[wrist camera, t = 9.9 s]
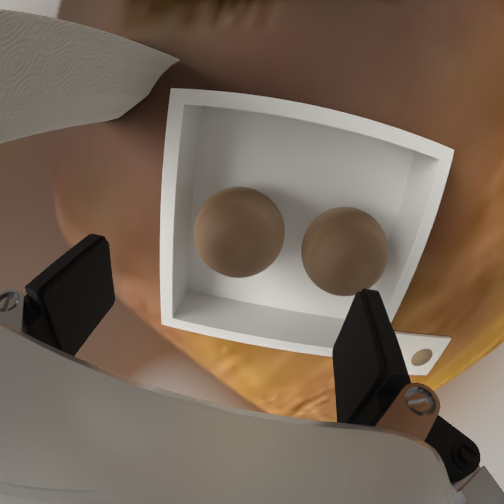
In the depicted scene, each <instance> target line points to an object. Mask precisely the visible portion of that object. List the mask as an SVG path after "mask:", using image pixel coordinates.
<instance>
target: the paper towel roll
mask: <svg viewBox="0 0 504 504" xmlns="http://www.w3.org/2000/svg"><path fill="white" fill-rule="evenodd" d="M178 61H180V59H177V58H175V57H173V56H170V55H168V54H165V53H163V52H160V51H158V50H156V49H153V48H150V47H148V46H145V45H143V44H140V43H137V42H134V41H132V40H129V39H126V38H123V37H120V36H117V35H114V34H111V33H108V32H105V31H101V30H98V29H95V28H91V27H88V26H84V25H80V24H77V23H73V22H69V21H64V20H60V19H56V18H51V17H46V16H41V15H35V14H30V13H24V12H16V11H9V10H1V9H0V143H3V142H7V141H11V140H14V139H18V138H22V137H26V136H30V135H34V134H38V133H42V132H47V131H52V130H57V129H62V128H67V127H73V126H78V125H84V124H90V123H97V122H104V121H109V120H113V119H117V118H120V117H121V116H122V115H123V114H125V113H126V112H127V111H129V110H130V109H131V108H133V107H134V106H135V105H136V104H138V103H139V102H140V101H141V100H143V99H144V98H145V97H147V96H148V94H149V93H150V91H151V90H152V88H153V86H154V85H155V83H156V82H157V80H158V79H159V77H160V76H161V75H162V74H163V73H164V72H165V71H166V70H167V69H168V68H169V67H170V66H171V65H173V64H175V63H176V62H178Z"/></svg>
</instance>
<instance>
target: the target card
mask: <svg viewBox="0 0 504 504" xmlns="http://www.w3.org/2000/svg"><path fill="white" fill-rule="evenodd" d="M394 332H395V334H396V337H397V340H398V343H399V346H400V349H401V352H402V355H403V358H404V361H405V365H406V368H407V371H408V374H409V375H427V374H428V373H429V372H430V370H431V369H432V367H433V366H434V364H435V363H436V362H437V360H438V359H439V357H440V356H441V354H442V353H443V351H444V350H445V348H446V347H447V345H448V344H449V342H450V340H451V337H448V336H436V335H426V334H416V333H407V332H398V331H394Z"/></svg>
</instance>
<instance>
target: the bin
mask: <svg viewBox="0 0 504 504" xmlns="http://www.w3.org/2000/svg"><path fill="white" fill-rule="evenodd" d="M453 154H454V150H453V149H451V148H449V147H446V146H444V145H441V144H439V143H436V142H434V141H431V140H429V139H426V138H423V137H421V136H418V135H415V134H413V133H410V132H407V131H404V130H401V129H398V128H395V127H392V126H389V125H386V124H383V123H379V122H376V121H373V120H369V119H366V118H362V117H359V116H355V115H351V114H348V113H344V112H340V111H336V110H332V109H327V108H323V107H318V106H314V105H309V104H304V103H299V102H294V101H288V100H283V99H277V98H271V97H264V96H257V95H250V94H242V93H233V92H223V91H212V90H198V89H179V88H171V91H170V99H169V107H168V116H167V125H166V135H165V147H164V159H163V173H162V191H161V216H160V296H161V321H162V325H166V326H170V327H174V328H178V329H182V330H186V331H190V332H195V333H199V334H204V335H208V336H213V337H217V338H222V339H227V340H232V341H237V342H242V343H247V344H252V345H258V346H263V347H269V348H275V349H281V350H287V351H294V352H300V353H307V354H315V355H322V356H330V357H333V356H332V351H333V346H334V344H335V341H336V339H337V337H338V335H339V332H340V330H341V328H342V326H343V323H344V321H345V319H346V316H347V314H348V311H349V309H350V307H351V304H352V302H353V299H354V297H355V295H353V296H337V295H333V294H330V293H327V292H325V291H324V290H322V289H320V288H319V287H318V286H316V285H315V284H314V283H313V282H312V280H311V279H310V278H309V276H308V275H307V273H306V271H305V269H304V266H303V262H302V257H301V246H302V240H303V237H304V234H305V232H306V230H307V228H308V227H309V225H310V224H311V223H312V222H313V220H314V219H315V218H317V217H318V216H319V215H321V214H322V213H324V212H326V211H327V210H330V209H333V208H337V207H352V208H357V209H360V210H362V211H364V212H366V213H368V214H369V215H371V216H372V217H373V218H374V219H375V220H376V221H377V222H378V223H379V224H380V226H381V227H382V229H383V231H384V233H385V235H386V239H387V243H388V261H387V265H386V268H385V270H384V272H383V274H382V276H381V277H380V279H379V280H378V281H377V282H376V283H375V284H374V285H373V286H372V287H371V288H369V289H371V290H376V291H379V293H380V295H381V298H382V301H383V303H384V306H385V309H386V311H387V314H388V317H389V320H390V323H391V322H392V320H393V318H394V316H395V314H396V312H397V310H398V308H399V306H400V304H401V302H402V299H403V297H404V295H405V293H406V291H407V288H408V286H409V284H410V282H411V279H412V277H413V275H414V272H415V270H416V268H417V265H418V263H419V260H420V258H421V255H422V253H423V250H424V248H425V245H426V242H427V240H428V237H429V234H430V231H431V229H432V226H433V223H434V220H435V217H436V214H437V211H438V208H439V205H440V201H441V198H442V195H443V191H444V188H445V185H446V181H447V177H448V174H449V170H450V166H451V162H452V158H453ZM231 187H248V188H252V189H255V190H257V191H259V192H261V193H263V194H265V195H266V196H267V197H269V198H270V199H271V200H272V201H273V202H274V204H275V205H276V206H277V208H278V209H279V211H280V213H281V216H282V218H283V222H284V229H285V236H284V242H283V246H282V249H281V251H280V253H279V255H278V257H277V258H276V260H275V261H274V262H273V263H272V264H271V265H270V266H269V267H268V268H267V269H265V270H264V271H262V272H260V273H258V274H256V275H253V276H250V277H245V278H234V277H228V276H225V275H222V274H220V273H218V272H216V271H214V270H213V269H211V268H210V267H209V266H208V265H207V264H206V263H205V262H204V261H203V260H202V258H201V257H200V255H199V253H198V251H197V248H196V246H195V242H194V223H195V219H196V216H197V214H198V212H199V210H200V208H201V207H202V205H203V204H204V203H205V202H206V200H207V199H209V198H210V197H211V196H212V195H214V194H215V193H217V192H219V191H221V190H223V189H227V188H231Z"/></svg>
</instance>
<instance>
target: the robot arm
mask: <svg viewBox="0 0 504 504" xmlns="http://www.w3.org/2000/svg"><path fill="white" fill-rule="evenodd" d="M25 289H26V292H27V295H25V296H24V295H23V294H22V292H20V291H19V290H15V289H10V290H6V291H3V292H1V293H0V504H504V492H503V491H502V489H501V488H500V487H499V485H498V484H497V482H496V481H495V480H494V478H493V477H492V476H491V474H490V473H489V472H488V470H487V469H486V467H485V466H482V467H481V468H480V466H479V462H480V453H479V449H478V447H477V446H476V444H475V443H474V442H473V441H472V440H470V439H469V438H468V437H467V436H465V435H464V434H463V433H461V432H460V431H459V430H457V429H456V428H455V427H453V426H452V425H451V424H449V423H448V422H447V421H445V420H444V419H443V418H441V417H440V416H439V415H438V413H439V409H440V402H439V399H438V397H437V395H436V394H435V392H434V391H433V390H432V389H430V388H429V387H428V386H426V385H424V384H420V383H411V381H410V378H409V374H408V371H407V368H406V365H405V361H404V358H403V355H402V352H401V349H400V346H399V343H398V340H397V337H396V334H395V332H394V330H393V328H392V326H391V323H390V320H389V317H388V314H387V311H386V309H385V306H384V303H383V301H382V298H381V295H380V293H379V291H376V290H371V289H365V288H364V289H362V291H361V292H359V291H358V292H357V293H356V294H355V297H354V299H353V302H352V304H351V307H350V309H349V311H348V314H347V316H346V319H345V321H344V323H343V326H342V328H341V330H340V332H339V335H338V337H337V339H336V341H335V344H334V346H333V351H332V356H333V367H334V380H335V393H336V409H337V422H327V421H318V420H309V419H302V418H294V417H287V416H280V415H274V414H267V413H262V412H256V411H250V410H245V409H240V408H235V407H230V406H226V405H221V404H217V403H213V402H208V401H204V400H200V399H196V398H192V397H189V396H185V395H181V394H178V393H174V392H171V391H167V390H164V389H161V388H158V387H154V386H151V385H148V384H145V383H142V382H139V381H136V380H133V379H130V378H127V377H124V376H122V375H119V374H116V373H113V372H111V371H108V370H106V369H103V368H100V367H98V366H95V365H93V364H90V363H88V362H86V361H83V360H81V359H78V358H76V357H74V356H75V354H76V353H77V352H78V350H79V349H80V347H81V346H82V345H83V343H84V342H85V341H86V339H87V338H88V337H89V335H90V334H91V333H92V332H93V330H94V328H96V326H97V325H98V324H99V322H100V321H101V320H102V319H103V317H104V316H105V315H106V314H107V312H108V311H109V309H111V307H112V306H113V304H114V301H115V294H114V287H113V279H112V270H111V261H110V250H109V243H108V241H106V239H105V237H104V236H100V235H96V234H90V235H88V236H87V237H86V238H84V239H83V240H82V241H80V242H79V243H78V244H76V245H75V246H74V247H72V248H71V249H70V250H69V251H67V252H66V253H65V254H64V255H62V256H61V257H60V258H59V259H57V260H56V261H55V262H54V263H52V264H51V265H50V266H49V267H48V268H46V269H45V270H44V271H43V272H42V273H40V274H39V275H38V276H37V277H36V278H35V279H33V280H32V281H31V282H30V283H29V284H28V285H26V286H25Z"/></svg>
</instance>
